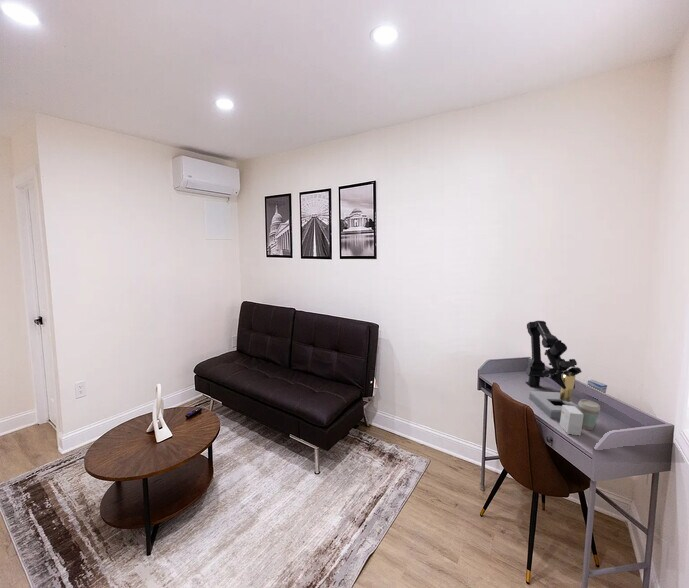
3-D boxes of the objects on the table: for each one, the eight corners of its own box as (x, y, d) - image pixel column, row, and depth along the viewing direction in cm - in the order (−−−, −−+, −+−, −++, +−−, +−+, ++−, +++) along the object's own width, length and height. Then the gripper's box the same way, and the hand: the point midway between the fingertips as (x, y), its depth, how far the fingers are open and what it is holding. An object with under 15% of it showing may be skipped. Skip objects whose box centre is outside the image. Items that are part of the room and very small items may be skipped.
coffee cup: (587, 421, 158) (591, 398, 156) (601, 431, 150) (606, 407, 148) (570, 421, 158) (574, 398, 156) (583, 431, 149) (587, 407, 147)
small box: (580, 436, 146) (584, 414, 144) (566, 434, 147) (570, 413, 145) (572, 426, 153) (575, 405, 152) (559, 424, 155) (562, 404, 153)
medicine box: (584, 394, 187) (587, 380, 186) (589, 393, 189) (592, 379, 187) (600, 400, 180) (602, 386, 179) (604, 399, 182) (607, 384, 180)
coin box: (529, 398, 180) (530, 391, 179) (558, 399, 179) (559, 392, 179) (550, 418, 160) (551, 409, 159) (583, 419, 160) (584, 411, 159)
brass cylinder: (558, 396, 169) (562, 372, 166) (569, 397, 167) (573, 374, 165) (561, 400, 164) (565, 376, 162) (572, 402, 163) (576, 378, 160)
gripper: (549, 353, 164) (564, 383, 155) (581, 352, 167) (597, 382, 158) (536, 362, 173) (549, 391, 164) (566, 361, 176) (580, 389, 167)
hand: (569, 388), depth 163 cm, fingers closed on brass cylinder, 5 cm apart
